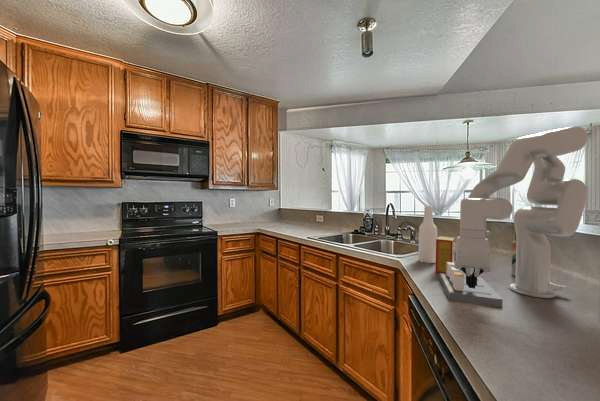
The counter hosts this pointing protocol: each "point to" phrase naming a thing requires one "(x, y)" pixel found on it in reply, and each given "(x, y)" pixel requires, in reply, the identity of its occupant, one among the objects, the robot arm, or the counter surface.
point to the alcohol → (427, 237)
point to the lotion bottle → (514, 257)
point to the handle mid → (452, 273)
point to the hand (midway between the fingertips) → (471, 287)
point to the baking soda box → (444, 253)
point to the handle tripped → (458, 281)
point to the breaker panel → (471, 292)
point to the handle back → (449, 264)
